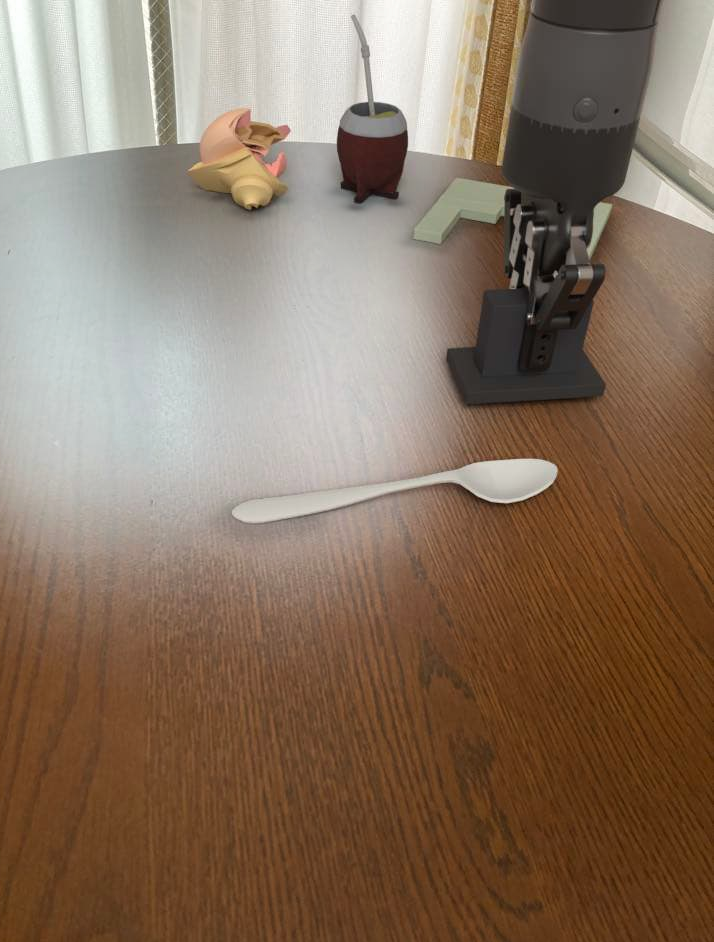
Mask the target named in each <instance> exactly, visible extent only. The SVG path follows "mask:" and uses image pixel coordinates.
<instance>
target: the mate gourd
mask: <svg viewBox="0 0 714 942" xmlns="http://www.w3.org/2000/svg"><path fill="white" fill-rule="evenodd" d="M350 18H351V21H352V23H353V25H354V28H355V30H356V33H357V34H358V35H357V36H358V38H359V41H360V45H361V46H360V52H361V58H362V59H363V66H364V67H363V68H364V77H365V85H366V95H367V101H364V102H358V103H353V104H352V105H350V106H349V107H348V108H347V109H346V110H345V111H344V113H343V115H342V116H341V118H340V120H339V126H338V129H337V135H336V153H337V157H338V160H339V163H340V165H339V166H340V169H341V175H342V180H343V181H341V182H340V189H343V190H348V191H352V192H356V195H355V196H354V197H353V200H354V201H353V202H354V203H355V204H362V203H364V202H365V201H366V200H367V199H368V198H369V197H371V196H377V197H383V198H387V199H393V200H397V199H398V198H399V195H400V192H399V191H397V189H398V186H399V183H400V181H401V178H402V175H403V173H404V167H405V161H406V157H407V154H408V148H409V133H408V122H407V120H406V117H405V115H404V113H403V111H402V110H401V109H400V108H399V107H397V106H396V105H394V104H391V103H387V102H381V101H375V100H374V94H373V83H372V74H371V73H372V71H371V63H370V62H371V61H370V57H371V52H370V46H369V45H368V41H367V38H366V35H365V33H364V30H363V28H362V26H361V24H360V22H359V20H358V18H357V16H356V14H351V16H350Z"/></svg>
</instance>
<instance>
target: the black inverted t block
mask: <svg viewBox="0 0 714 942" xmlns="http://www.w3.org/2000/svg"><path fill="white" fill-rule="evenodd" d="M546 295H547V293H546V294H544V295H543V296H542V299H541V305H542V303H543V301H544V299H545V297H546ZM528 296H529V291H528V289H527V288H517V289H509V288H501V289H500V288H499V289H497V288H496V289H484V291H483V296H482V302H481V309H480V315H479V321H478V328H477V333H476V334H477V335H476V341H475V346H467V347H466V346H463V347H448V348H446V349H447V350H446V357H445V360H446V363H447V365H448V367H449V370H450V372H451V374H452V377H453V378H454V380H455V383H456V385H457V388H458V390H459V392H460V394H461V396H462V399H463V401H464V403H465V404H466V405H478V404H479V405H480V404H497V403H512V402H514V403H515V402H530V401H544V400H545V401H547V400H548V401H549V400H561V399H578V398H579V399H581V398H595V397H603V396H604V394H605V390H606V386H607V383H606V382H605V380H604V379H603V377H602V375H600V373H599V371H598V370H597V369H596V367H595V365H594V364H593V363H592V361H591V360H590V358H589V356H588V354H587V353H586V352H585V350H584V345H585V340H586V337H587V333H588V328H589V323H590V321H591V317H592V311H593V307H594V304H595V301H594V299H593V300H592V302H591V303H590V305H589V307H588V309H587V310H586V312H585V314H584V315H583V317H582V319H581V320H580V322H579V324H578V325H577V327H576V328H575V329H561V330H558V333H557V338H556V342H555V347H554V351H553V356H552V361H551V365H550V367H549V368H548V369H547V370H546V371H541V372H522V371H521V370H520V368H519V366H518V364H517V362H518V357H519V351H520V346H521V341H522V336H523V330H524V325H525V321H526V318H525V315H526V310H527V303H528ZM541 305H540V307H541Z"/></svg>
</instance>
